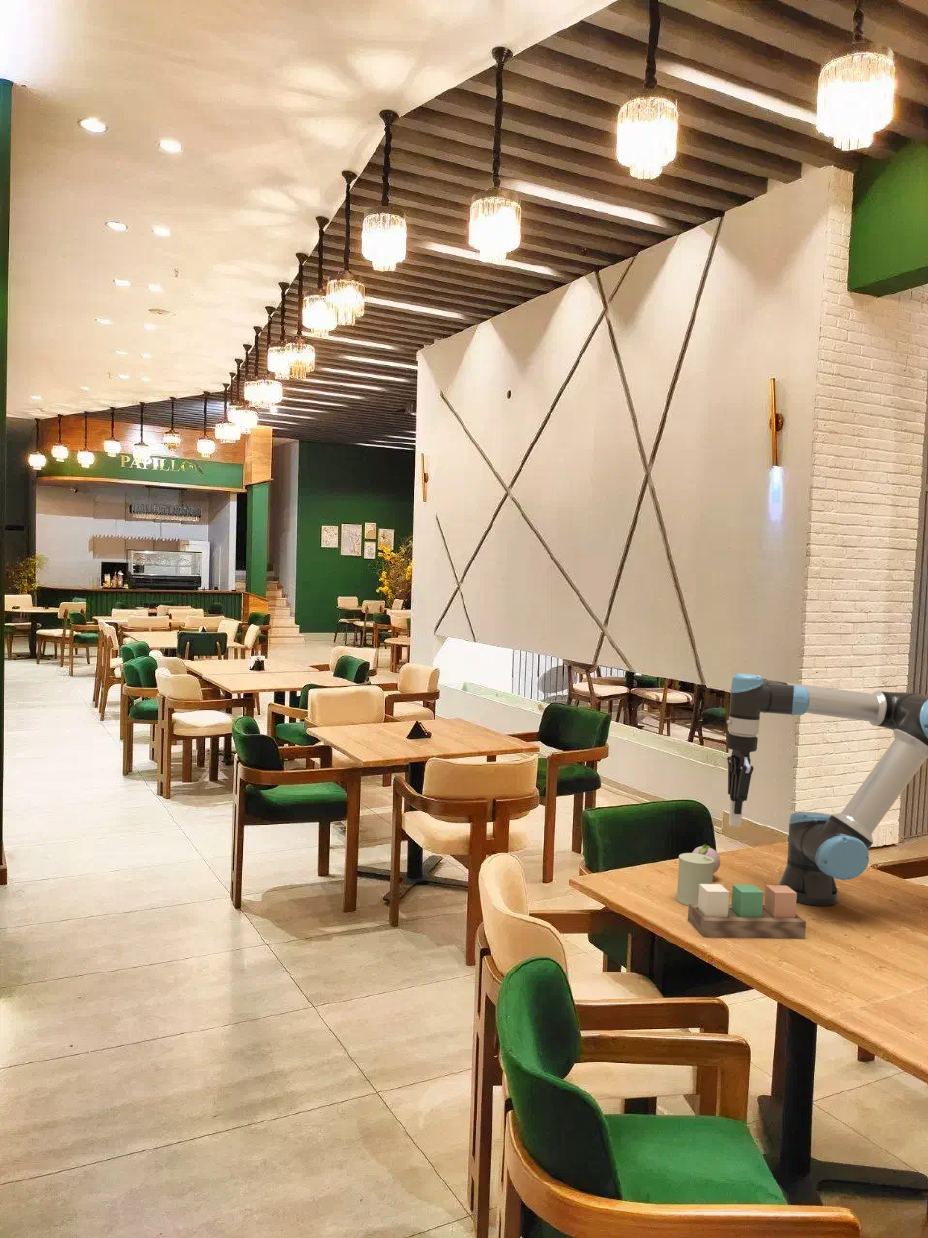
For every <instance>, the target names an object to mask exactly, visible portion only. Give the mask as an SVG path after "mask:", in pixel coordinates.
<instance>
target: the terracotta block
mask: <svg viewBox="0 0 928 1238" xmlns="http://www.w3.org/2000/svg"><path fill="white" fill-rule="evenodd" d="M764 892H765V894H764V905H765V906H764V911H766V912H767V913H768V914H769V915H770V916H772V917H773V918H795V916H796V914H797V913H796V912H797V902H796V900H797V893H796V892H795V891H793V890H792V889H791V888H789V887H788V886H784V885H779V884H777V885H771V884H765V891H764Z"/></svg>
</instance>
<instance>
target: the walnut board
mask: <svg viewBox="0 0 928 1238" xmlns="http://www.w3.org/2000/svg"><path fill="white" fill-rule="evenodd" d="M764 906H765V904H762V918H753V917H738V916H737V915H736V914H735V913H734V912H733V911H732V910H731V904H728V917H705V916H704V915H703V914H702V913H701V912H700V911H699V910H698V904H689V906H688V912H687V921H688V922H691V923H692V924H693V925H692V924H691V923H690V924H691V925H692V926H693V927H694V929H696V931H698V933H700V935H702V937H703V938H733V937H734V938H733V939H735V938H738V939H739V938H740V939H741V938H743V939H744V938H745V939H748V938H749V939H753V938H755V939H806V927H807V922H806V921H805V920H804V918H802V917H800V916H799V915H798V914H797V913H796V916H795V918H773V917H772V916H770V915H769V914H768V913H767V912H766V911H764Z"/></svg>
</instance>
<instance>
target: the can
mask: <svg viewBox="0 0 928 1238" xmlns="http://www.w3.org/2000/svg"><path fill="white" fill-rule="evenodd" d="M713 868H714V859H713V858H711V857H709V856H707V855H703V854H697V853H692V852H683V853H680V854H679V855H678V872H677V873H678V875H677V889H676V890H677V891H676V897H675V898H676V901H677V902H678V903H680V904H682V905H685V906H688V907H689V904H698V897H699V884H714V883H713V881H714V879H713V878H714V874H713Z"/></svg>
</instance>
